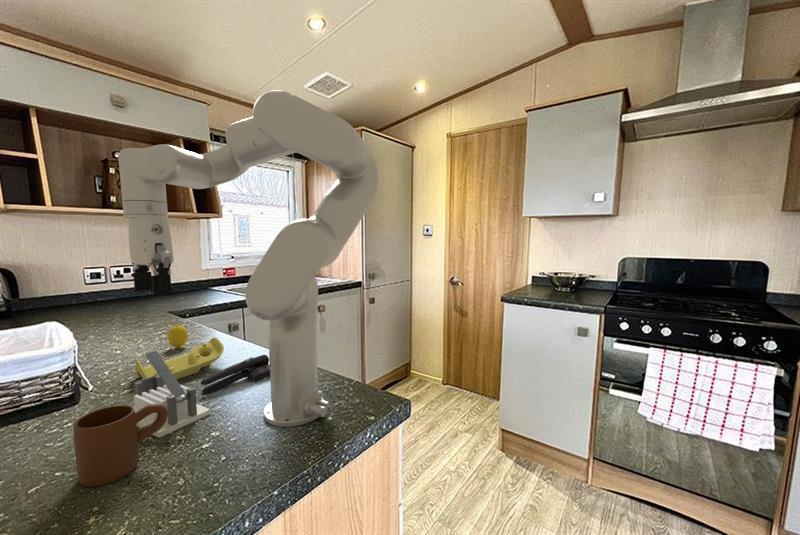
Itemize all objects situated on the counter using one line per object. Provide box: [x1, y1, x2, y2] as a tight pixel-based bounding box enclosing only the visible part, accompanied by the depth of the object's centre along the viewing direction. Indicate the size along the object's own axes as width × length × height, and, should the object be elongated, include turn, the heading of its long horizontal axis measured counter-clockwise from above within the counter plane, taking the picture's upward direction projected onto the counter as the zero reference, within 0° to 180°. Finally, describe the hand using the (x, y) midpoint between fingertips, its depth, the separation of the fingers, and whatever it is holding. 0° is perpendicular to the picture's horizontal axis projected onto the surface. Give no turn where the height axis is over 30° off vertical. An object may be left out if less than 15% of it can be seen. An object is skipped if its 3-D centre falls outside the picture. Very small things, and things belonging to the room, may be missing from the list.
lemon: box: [167, 324, 189, 349], centre depth 116 cm, size 6×6×8 cm
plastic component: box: [134, 336, 225, 385], centre depth 96 cm, size 20×7×10 cm
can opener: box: [200, 354, 270, 395], centre depth 89 cm, size 18×7×6 cm, turn 138°
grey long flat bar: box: [145, 350, 190, 403], centre depth 72 cm, size 14×3×1 cm
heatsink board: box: [132, 375, 211, 439], centre depth 73 cm, size 15×10×6 cm, turn 60°
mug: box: [73, 404, 168, 488], centre depth 57 cm, size 12×8×9 cm, turn 133°
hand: (152, 292), depth 74 cm, fingers open, 9 cm apart
